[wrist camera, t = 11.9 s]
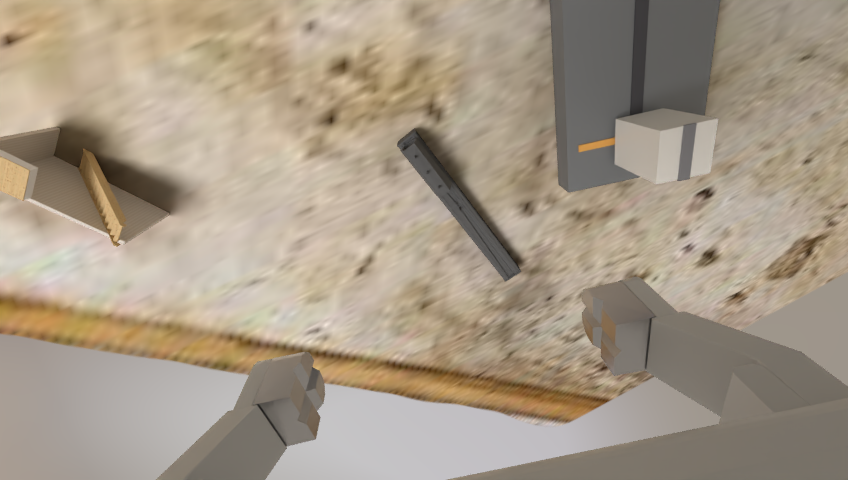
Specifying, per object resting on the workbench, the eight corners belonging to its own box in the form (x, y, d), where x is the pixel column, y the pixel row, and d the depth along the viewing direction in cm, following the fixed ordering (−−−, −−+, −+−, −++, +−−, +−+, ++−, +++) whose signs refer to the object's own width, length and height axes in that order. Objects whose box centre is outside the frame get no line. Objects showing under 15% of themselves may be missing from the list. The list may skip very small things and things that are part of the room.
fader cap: (615, 118, 30) (661, 130, 25) (663, 107, 30) (720, 117, 25) (614, 164, 32) (657, 185, 27) (659, 154, 32) (711, 174, 27)
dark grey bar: (520, 258, 40) (532, 279, 37) (500, 271, 41) (510, 292, 37) (419, 123, 33) (420, 131, 29) (397, 141, 34) (396, 151, 30)
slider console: (545, -97, 26) (559, -113, 24) (712, -141, 26) (743, -162, 23) (558, 184, 36) (569, 193, 34) (679, 158, 35) (699, 164, 33)
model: (60, 126, 32) (-35, 143, 25) (181, 188, 35) (126, 219, 28) (53, 155, 33) (-40, 180, 26) (171, 213, 36) (115, 249, 29)
